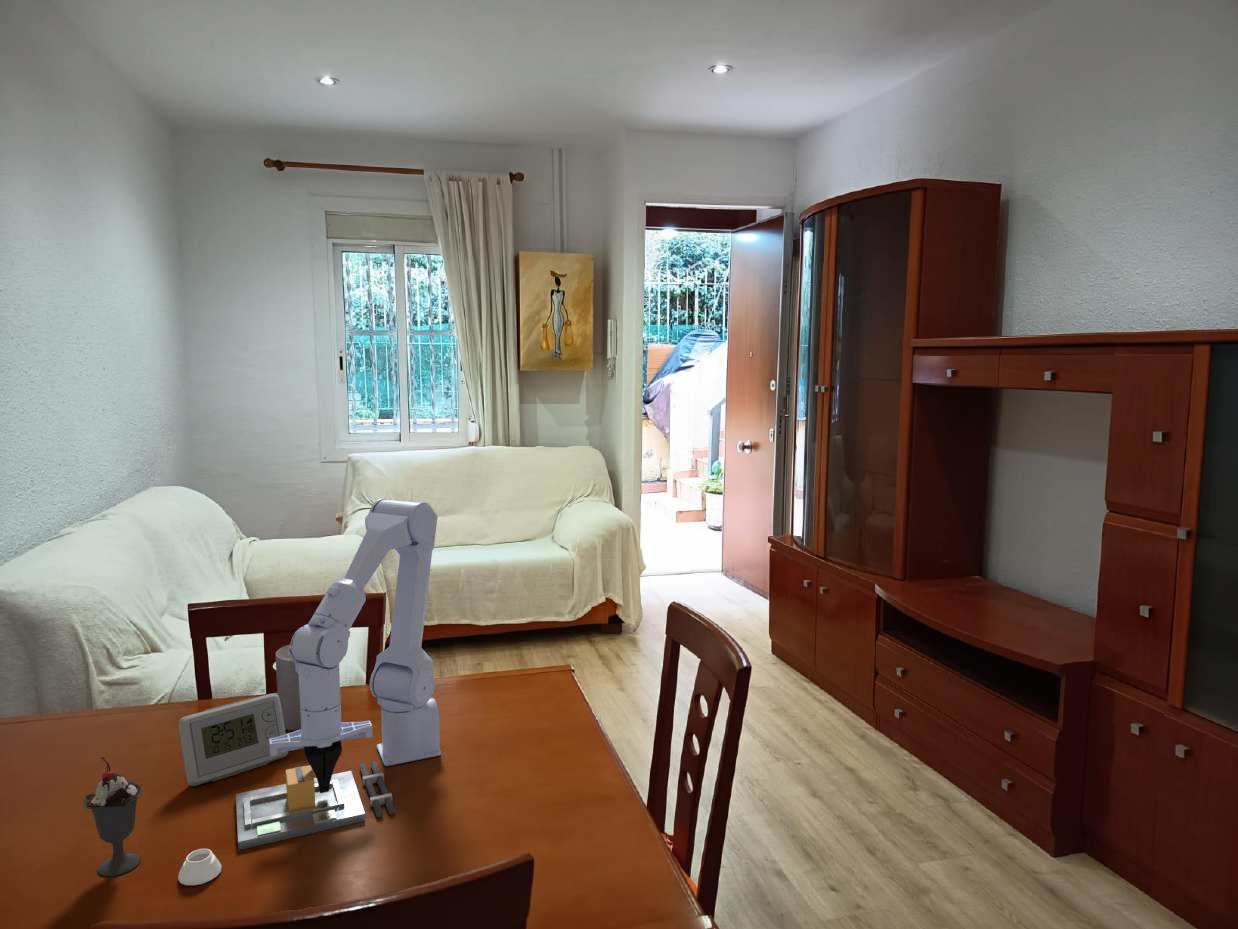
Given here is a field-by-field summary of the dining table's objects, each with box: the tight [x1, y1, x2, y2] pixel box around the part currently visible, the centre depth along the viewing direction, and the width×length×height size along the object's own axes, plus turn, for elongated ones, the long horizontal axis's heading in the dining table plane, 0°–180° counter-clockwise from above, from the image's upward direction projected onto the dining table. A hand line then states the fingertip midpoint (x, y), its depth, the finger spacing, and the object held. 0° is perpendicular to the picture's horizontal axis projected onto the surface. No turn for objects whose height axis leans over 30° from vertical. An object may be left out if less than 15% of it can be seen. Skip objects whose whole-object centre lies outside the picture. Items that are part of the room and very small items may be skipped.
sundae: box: [83, 755, 144, 877], centre depth 109 cm, size 7×7×15 cm
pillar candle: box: [275, 644, 301, 732], centre depth 154 cm, size 10×10×15 cm
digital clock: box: [177, 692, 289, 787], centre depth 136 cm, size 16×9×11 cm, turn 122°
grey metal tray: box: [235, 770, 366, 851], centre depth 124 cm, size 17×14×2 cm
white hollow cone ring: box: [177, 848, 222, 886], centre depth 108 cm, size 5×3×5 cm
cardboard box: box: [285, 764, 315, 812], centre depth 123 cm, size 4×5×5 cm
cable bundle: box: [359, 760, 396, 819], centre depth 130 cm, size 3×16×1 cm, turn 26°
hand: (323, 789), depth 125 cm, fingers closed
